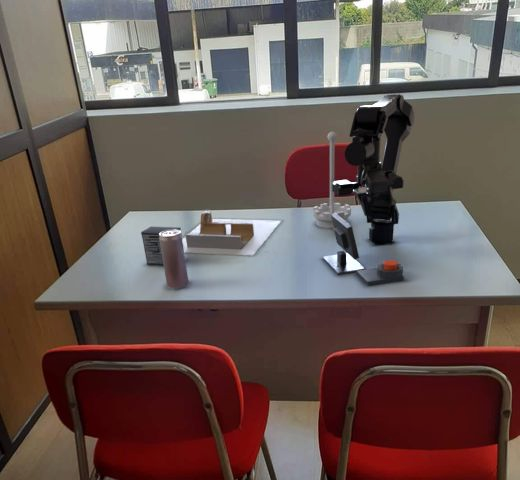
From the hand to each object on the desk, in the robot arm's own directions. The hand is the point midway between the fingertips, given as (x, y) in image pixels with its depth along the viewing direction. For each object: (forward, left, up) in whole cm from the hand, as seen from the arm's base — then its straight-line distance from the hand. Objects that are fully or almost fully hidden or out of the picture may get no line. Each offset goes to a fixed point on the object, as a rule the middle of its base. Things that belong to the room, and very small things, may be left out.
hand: (366, 215), depth 147 cm
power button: (-1, +16, -10) cm, 19 cm away
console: (+2, +15, -12) cm, 20 cm away
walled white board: (+35, -37, -13) cm, 52 cm away
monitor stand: (+7, +3, -12) cm, 15 cm away
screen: (+7, +3, -9) cm, 11 cm away
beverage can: (+55, 0, -13) cm, 56 cm away
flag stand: (-2, -35, -13) cm, 37 cm away
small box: (+57, -19, -13) cm, 61 cm away
